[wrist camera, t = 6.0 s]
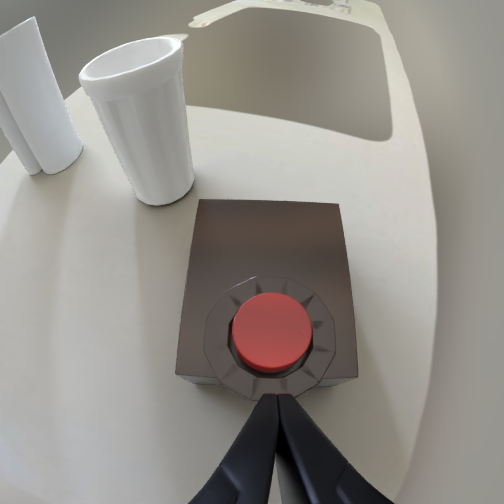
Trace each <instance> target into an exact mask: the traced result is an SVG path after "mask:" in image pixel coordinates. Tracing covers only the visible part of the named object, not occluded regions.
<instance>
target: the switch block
mask: <svg viewBox="0 0 504 504" xmlns="http://www.w3.org/2000/svg"><path fill="white" fill-rule="evenodd" d="M263 293H280V294H284V295H287V296H289V297H292V298H293V299H295V300H296V301H298V302H299V303H300V304H301V305H302V306H303V307H304V308H305V310H306V311H307V313H308V315H309V317H310V320H311V324H312V338H311V342H310V345H309V347H308V349H307V350H306V352H305V353H304V354H303V356H302V357H301V358H300V359H299V360H298V361H297V362H296V363H295V364H294V365H293V366H292V367H290V368H288V369H286V370H284V371H281V372H277V373H264V372H260V371H257V370H254V369H252V368H251V367H249V366H248V365H247V364H245V363H244V362H243V360H242V359H241V358H240V356H239V355H238V353H237V351H236V348H235V344H234V340H233V335H232V326H233V321H234V318H235V315H236V313H237V311H238V310H239V308H240V307H241V306H242V305H243V304H244V303H245V302H246V301H248V300H249V299H251V298H252V297H254V296H257V295H259V294H263ZM175 374H176V375H178V376H180V377H182V378H184V379H186V380H188V381H190V382H192V383H196V384H208V385H222V386H225V387H226V388H228V389H230V390H231V391H233V392H234V393H236V394H238V395H239V396H241V397H243V398H244V399H246V400H248V401H249V402H258V401H259V400H260V398H261V396H262V395H263V394H264V393H275V394H276V395H278V394H279V393H289V394H291V395H292V396H293V397H294V398H296V397H298V396H299V395H301V394H303V393H305V392H306V391H308V390H310V389H311V388H313V387H319V386H334V385H337V384H340V383H343V382H346V381H349V380H351V379H354V378H357V377H358V362H357V345H356V332H355V320H354V310H353V300H352V291H351V282H350V274H349V266H348V259H347V252H346V245H345V238H344V232H343V226H342V220H341V214H340V208H339V204H334V203H316V202H295V201H269V200H223V199H199V203H198V209H197V214H196V220H195V226H194V232H193V238H192V244H191V250H190V257H189V264H188V270H187V277H186V284H185V292H184V299H183V307H182V315H181V323H180V332H179V341H178V351H177V361H176V371H175Z"/></svg>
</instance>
